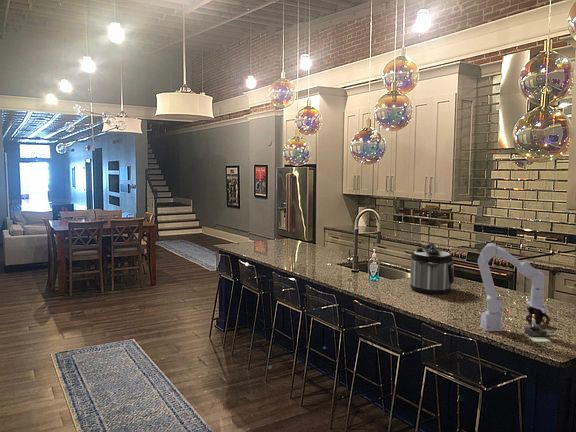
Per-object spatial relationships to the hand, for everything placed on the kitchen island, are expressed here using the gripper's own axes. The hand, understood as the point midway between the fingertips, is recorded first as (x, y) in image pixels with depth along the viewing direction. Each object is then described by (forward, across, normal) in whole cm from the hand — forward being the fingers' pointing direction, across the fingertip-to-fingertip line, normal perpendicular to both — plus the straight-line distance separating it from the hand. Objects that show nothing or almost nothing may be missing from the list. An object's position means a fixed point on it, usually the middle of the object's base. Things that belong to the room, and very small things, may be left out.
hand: (535, 323), depth 237 cm
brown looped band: (+6, +14, -10) cm, 18 cm away
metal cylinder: (+2, 0, 0) cm, 3 cm away
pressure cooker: (+6, +90, +18) cm, 92 cm away
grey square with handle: (+6, 0, -3) cm, 7 cm away
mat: (+6, -7, +2) cm, 9 cm away
